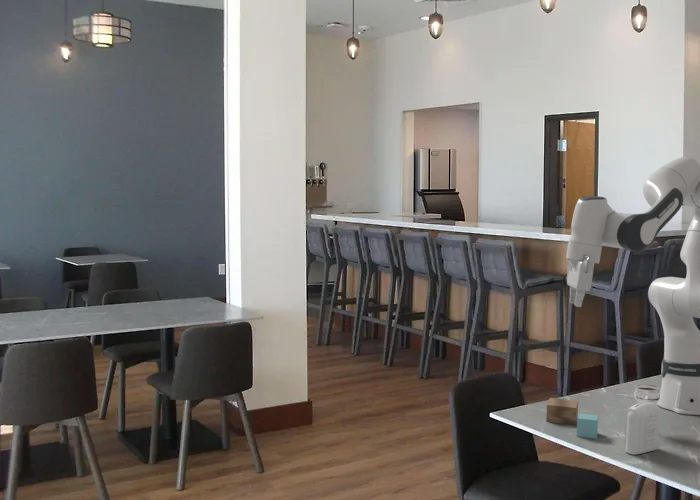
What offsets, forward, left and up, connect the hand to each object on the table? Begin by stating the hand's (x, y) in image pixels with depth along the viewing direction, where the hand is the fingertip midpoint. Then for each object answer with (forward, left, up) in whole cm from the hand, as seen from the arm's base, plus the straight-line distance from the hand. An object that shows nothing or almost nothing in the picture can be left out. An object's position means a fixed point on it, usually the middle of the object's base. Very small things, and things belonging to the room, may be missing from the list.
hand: (575, 305), depth 216 cm
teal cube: (-5, +4, -34) cm, 35 cm away
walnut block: (+3, -8, -35) cm, 36 cm away
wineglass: (-19, -6, -35) cm, 40 cm away
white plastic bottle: (-19, +12, -35) cm, 41 cm away
